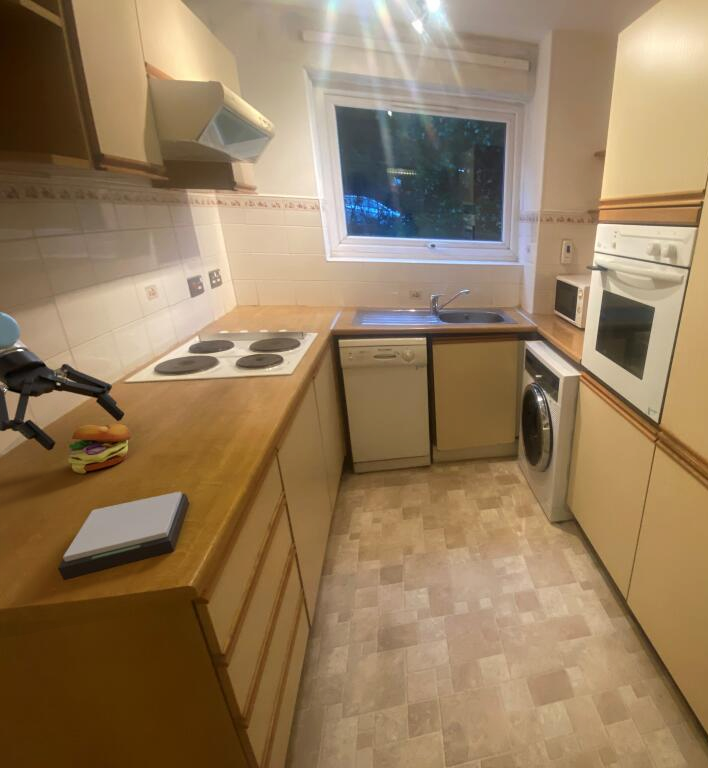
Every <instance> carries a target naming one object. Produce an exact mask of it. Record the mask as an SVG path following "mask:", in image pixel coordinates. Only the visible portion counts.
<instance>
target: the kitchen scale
mask: <svg viewBox="0 0 708 768" xmlns="http://www.w3.org/2000/svg"><path fill="white" fill-rule="evenodd" d="M187 495H188V494H187V493H182V491H175V492H170V493H167V494H162V495H157V496H156V495H155V496H152V497H147V498H144V499H138V500H133V501H129V502H124V503H123V502H122V503H119V504H114V505H109V506H105V507H100V508H96V509H92V510H91V512H90V514H89V515H88V517H86V520H85V521H84V523H83V524H82V526H81V527H80V529H79V530H78V532H77V534H76V536H75V537H74V539H73V540H72V542H71V543H70V545H69V547H68V548H67V550H66V551H65V552H64V554H63V556H62V561H61V562H60V564H59V565H58V567H57V570H58V571H59V573H60V576H61V577H62V579H63V580H68V579H73V578H76V577H80V576H84V575H89V574H91V573H97V572H99V571H103V570H108V569H112V568H115V567H118V566H124V565H128V564H131V563H135V562H139V561H143V560H146V559H149V558H153V557H158V556H162V555H165V554H169V553H173V552H174V551H175V549H176V547H177V542H178V539H179V537H180V535H181V534H180V533H181V531H182V527H183V524H184V522H185V519H186V515H187V512H188V509H189V506H190V501H189V498H188V496H187Z"/></svg>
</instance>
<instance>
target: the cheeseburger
mask: <svg viewBox="0 0 708 768" xmlns="http://www.w3.org/2000/svg"><path fill="white" fill-rule="evenodd" d="M71 438H72V439H73V440H77V441H73V443H70V444H69V445H68V448H69V449H70V450H69V451H68V455H69V456H68V458H67V460H68V463H70V466H71V469H72V471H74V472H75V473H77V474H80V475H83V474H86V473H87V472H91V471H94V470H95V471H96V470H99V469H103V468H107V467H110V466H113V465H117V464H118V463H120V462H122V461H124V460H125V459H126V458H127V456H128V450H129V446H128V444H129V441H128V440H131V439H132V438H133V437H132V436H131V433H130V430H129V429H128V427H127V426H126V425H123V424H121V423H109V424H107V425H105V426H98V425H97V424H85V425H81V426H79V427H78V428H77V429H76V430H75V431H74V432H73V435H72V437H71Z"/></svg>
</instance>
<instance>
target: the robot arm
mask: <svg viewBox="0 0 708 768" xmlns="http://www.w3.org/2000/svg"><path fill="white" fill-rule="evenodd" d="M20 335H21V330H20V326H19V323H18V322H17V321H16V319H14V318H13V317H12V316H11V315H10V314H8V313H5V312H3V311H0V383H1V384H0V432H5V431H7V430H11V431H12V432H18V433H19V434H21V435H22V436H23V437H24V438H26V439H27V440H29V441H30V440H33V439H34V440H35V441H36V442H38V444H39V445H41V446H42V447H43V448H44V449H46V451H48V452H49V451H51V450H53V449H54V447H55V445H56V441H55V440H54V439H53V438H51V437H50V436H49V435H48V433H46V432H45V431H44V430H43V429H42V428H41V427H39V426H38V425H37V424H36V423H35V422H34V421H33V420H31V419H28V420H25V416H26V412H27V407H28V403H29V399H30V397H32V398H33V397H34V398H37V397H40V396H42V395H44V394H50V393H54V392H53V391H57V392H67V393H71V394H76V395H81V396H85V397H89V398H90V397H91V398H94V399H96V401H95V402H96V403H97V404H98V405H99V406H100V407H101V408H102V409H104V410H105V412H107V413H108V414H109V415H110V416H111V417H112V418H113V419H114V420H116V422H120V421H122V419H123V418H124V416H125V411H123V410H121V409H120V408H119V406H117V401H116V400H115V399H114V398H113V397H112V396H111V395H110V392H111V391H112V389H113V385H112V384H111V383H108V382H106V381H103V380H101V379H98V378H96V377H94V376H91V375H89V374H86V373H84V372H81V371H79V370H77V369H75V368H74V367H72V366H71V365H69V364H68V363H63V364H62V365H61V367H58V368H56V369H52V368H50V367H48V366H47V364H46V363H45V362H44V360H42V359H41V358H39V357H38V355H36V353H34V351H31V349H30V348H29V347H28V346H27V345H25V344H24V342H22V341H21V340H20ZM7 391H8V392H10V393H15V394H17V395H18V394H19V397H18V401H17V406H16V409H15V412H14V413H15V414H14V418H13V419H10V417H9V411H8V406H7V400H6V394H7Z"/></svg>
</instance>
